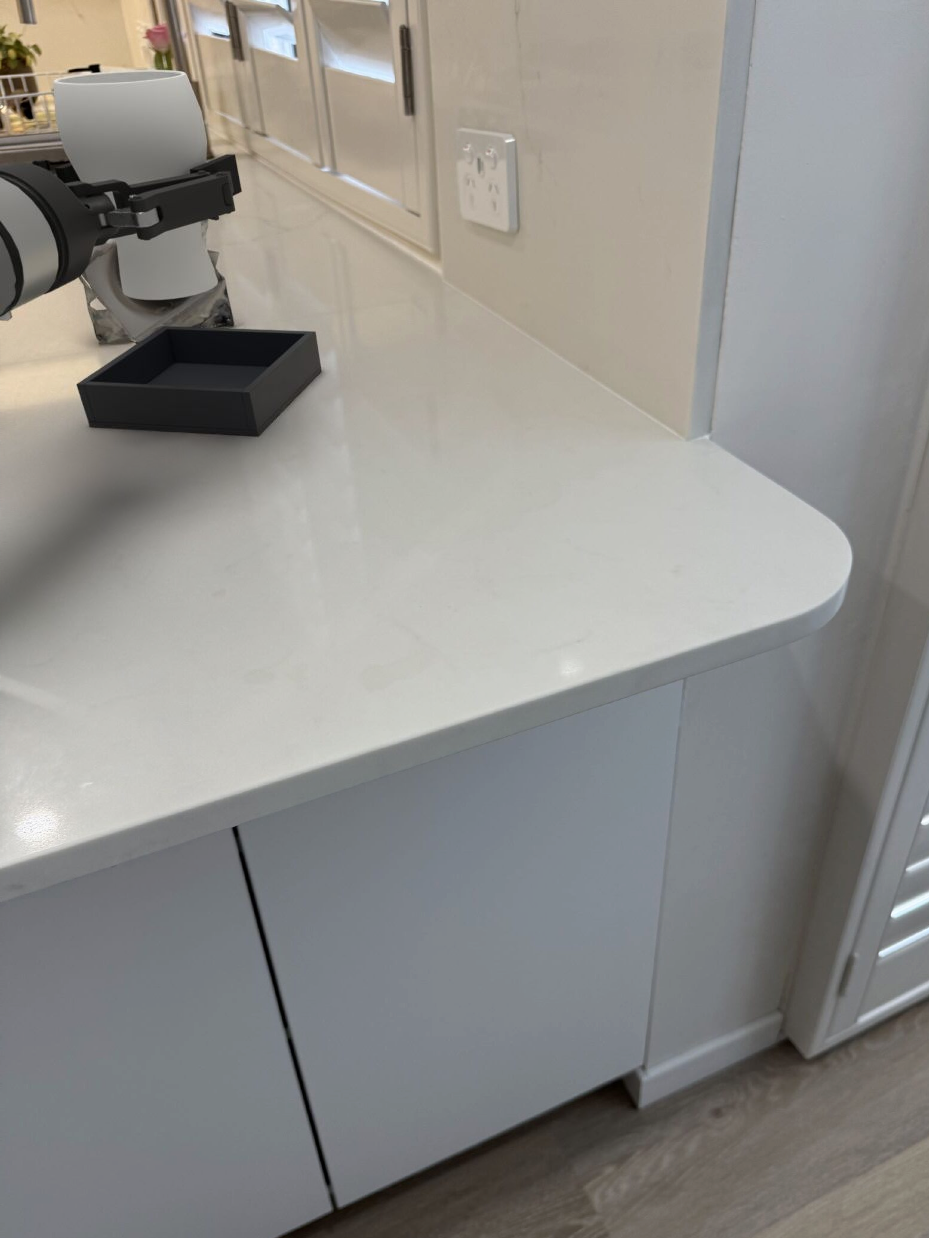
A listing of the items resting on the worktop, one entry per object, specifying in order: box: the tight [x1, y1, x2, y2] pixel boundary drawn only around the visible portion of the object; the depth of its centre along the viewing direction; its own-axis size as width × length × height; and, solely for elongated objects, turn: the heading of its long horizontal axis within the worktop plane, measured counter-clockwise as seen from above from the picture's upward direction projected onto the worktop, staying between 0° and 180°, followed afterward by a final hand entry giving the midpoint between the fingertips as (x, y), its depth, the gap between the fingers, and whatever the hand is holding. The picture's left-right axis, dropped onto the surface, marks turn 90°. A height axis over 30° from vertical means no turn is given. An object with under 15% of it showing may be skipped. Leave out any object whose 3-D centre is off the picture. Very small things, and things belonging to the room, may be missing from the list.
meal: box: [78, 219, 235, 344], centre depth 104 cm, size 15×4×13 cm, turn 115°
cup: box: [52, 69, 218, 300], centre depth 75 cm, size 11×11×15 cm
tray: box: [76, 326, 322, 437], centre depth 90 cm, size 17×17×4 cm
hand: (170, 172), depth 78 cm, fingers closed on cup, 11 cm apart
